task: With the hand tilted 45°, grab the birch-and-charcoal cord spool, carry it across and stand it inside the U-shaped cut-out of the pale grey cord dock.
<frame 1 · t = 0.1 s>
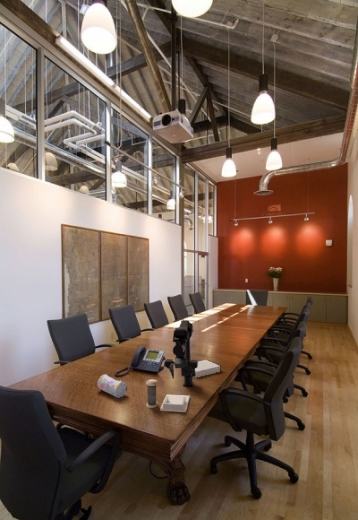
hand: (181, 378, 154), 15 cm above the table, tool pointing down, fingers open, 9 cm apart
disc drive: (202, 371, 205), on the table
cord spool: (152, 405, 154), on the table
pencil case: (111, 393, 170), on the table
cord dock: (175, 403, 155), on the table
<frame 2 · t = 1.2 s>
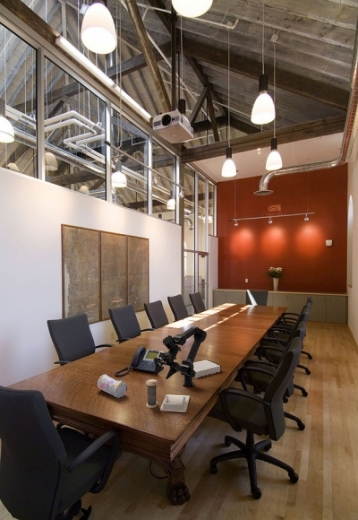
hand: (160, 377, 160), 13 cm above the table, tool tilted 45°, fingers open, 9 cm apart
nothing on the table moved.
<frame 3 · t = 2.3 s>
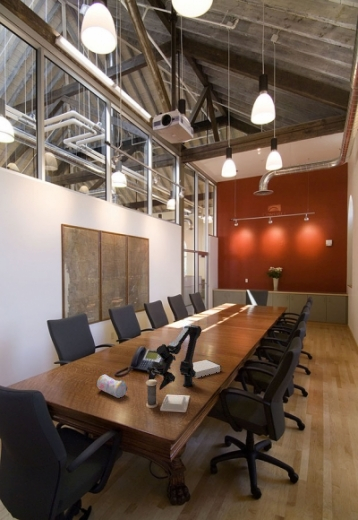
hand: (153, 387, 156), 9 cm above the table, tool tilted 45°, fingers open, 9 cm apart
nothing on the table moved.
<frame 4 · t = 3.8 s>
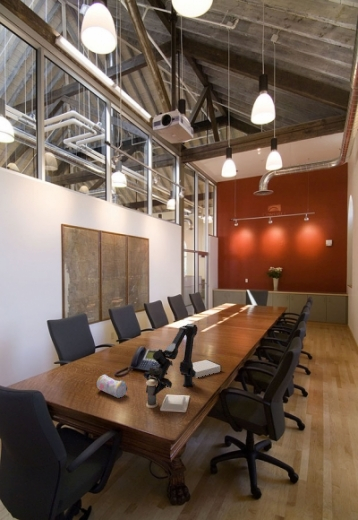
hand: (150, 394, 153), 7 cm above the table, tool tilted 45°, fingers closed on cord spool, 5 cm apart
cord spool: (152, 405, 154), on the table, touching gripper
everything else where it was.
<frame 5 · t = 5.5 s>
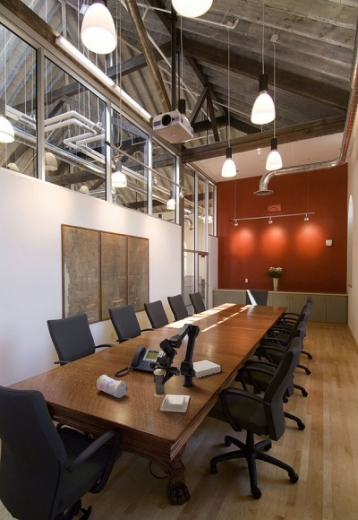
hand: (158, 383, 152), 13 cm above the table, tool tilted 45°, fingers closed on cord spool, 5 cm apart
cord spool: (160, 394, 153), point 6 cm above the table, touching gripper
everything else where it was.
when the fingers open (9 cm above the table, at t = 7.2 s): cord spool drops 1 cm, resting on cord dock.
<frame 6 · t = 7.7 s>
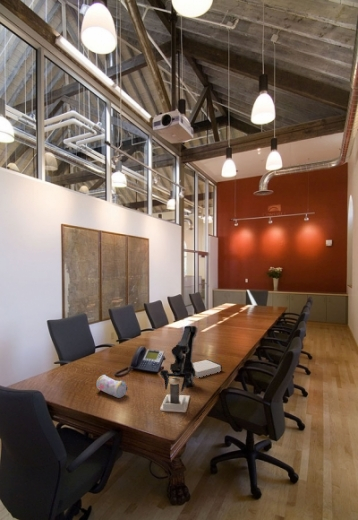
hand: (173, 390, 151), 9 cm above the table, tool tilted 45°, fingers open, 9 cm apart
cord spool: (174, 404, 152), point 1 cm above the table, touching cord dock
everything else where it was.
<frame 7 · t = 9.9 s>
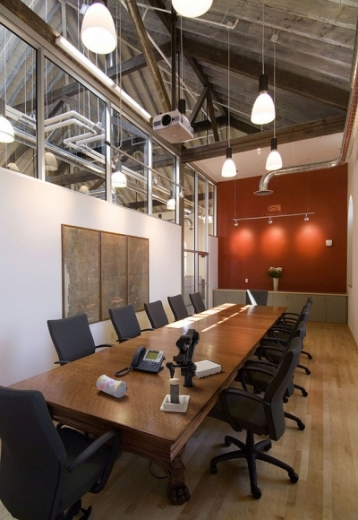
hand: (178, 380, 160), 11 cm above the table, tool tilted 40°, fingers open, 9 cm apart
nothing on the table moved.
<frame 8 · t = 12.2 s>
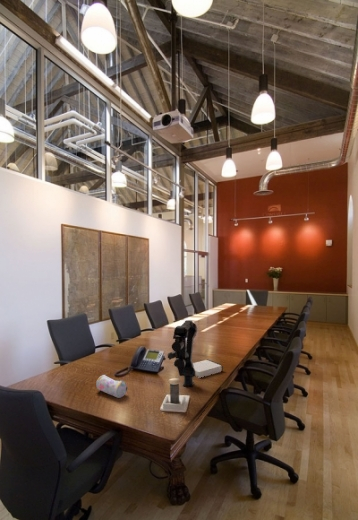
hand: (181, 373, 167), 13 cm above the table, tool pointing down, fingers open, 9 cm apart
at the end: cord spool 0.2 cm from the target spot, point 1.2 cm above the table; cord spool tilted 0°; the gripper is holding nothing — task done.
